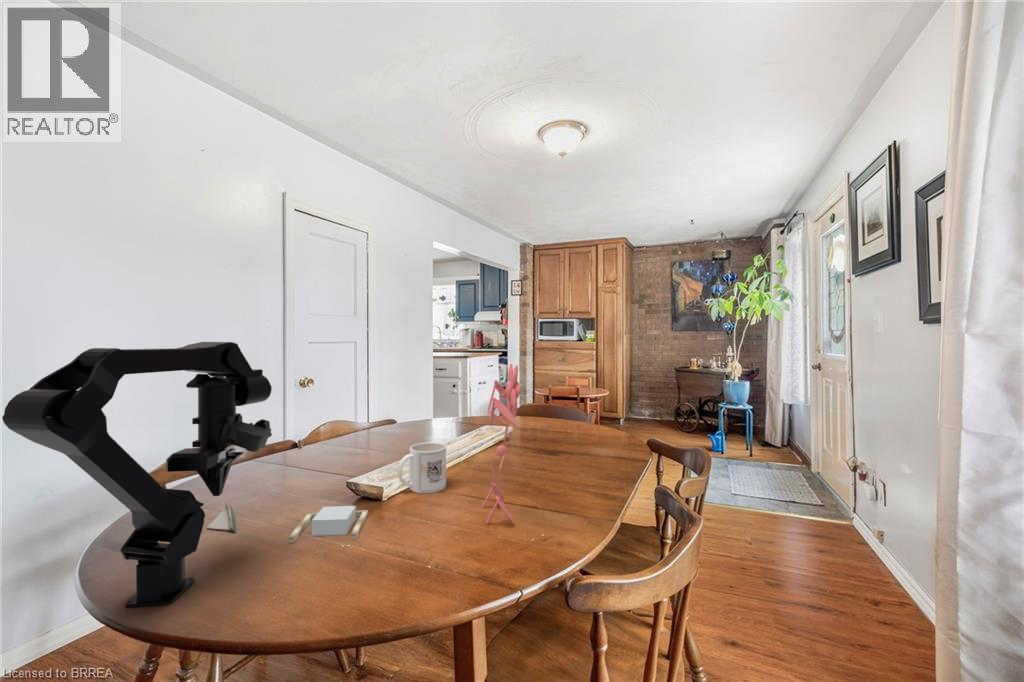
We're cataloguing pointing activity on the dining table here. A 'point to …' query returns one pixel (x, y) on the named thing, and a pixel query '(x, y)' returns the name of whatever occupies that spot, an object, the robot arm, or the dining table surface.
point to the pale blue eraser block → (334, 520)
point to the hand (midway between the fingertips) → (217, 495)
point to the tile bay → (309, 516)
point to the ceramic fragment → (224, 520)
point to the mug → (425, 467)
